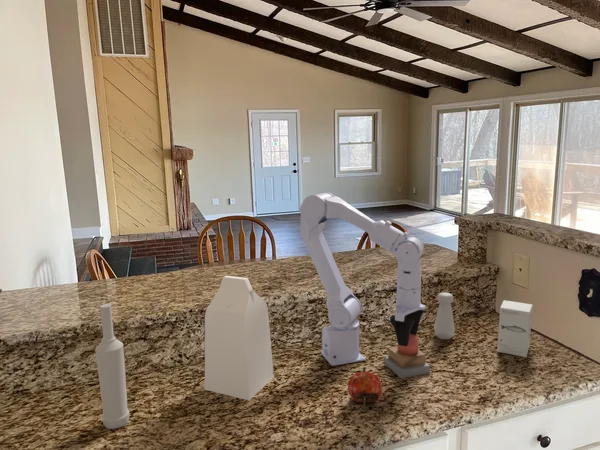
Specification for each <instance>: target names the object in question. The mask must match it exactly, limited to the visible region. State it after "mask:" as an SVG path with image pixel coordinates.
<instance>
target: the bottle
mask: <svg viewBox="0 0 600 450" xmlns="http://www.w3.org/2000/svg"><path fill="white" fill-rule="evenodd" d="M99 310H100V311H99V312H100V317H101V319H100V320H101V329H102V331H101V332H102V338H101V340H100V342H99V343H98V345H96V346H95V357H96V366H97V367H96V368H97V373H98V375H97V376H98V381H99V389H100V390H99V391H100V397H101V398H100V399H101V407H102V413H103V414H102V418H101V419H102V424H103V426H104V427H105V428H106V429H109V430H111V429H112V430H115V429H119V428H121V427H124V426H126V424H127V423H128V422H129V420H130V419H129V418H130V410H129V408H128V399H127V396H128V395H127V383H126V382H127V380H126V367H125V351H124V343H123V342H122V341H120V340H118V339H117V337H116V336H114V324H113V312H112V311H113V310H112V304H111V303H106V304H105V303H104V304H101V305H100V306H99Z"/></svg>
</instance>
